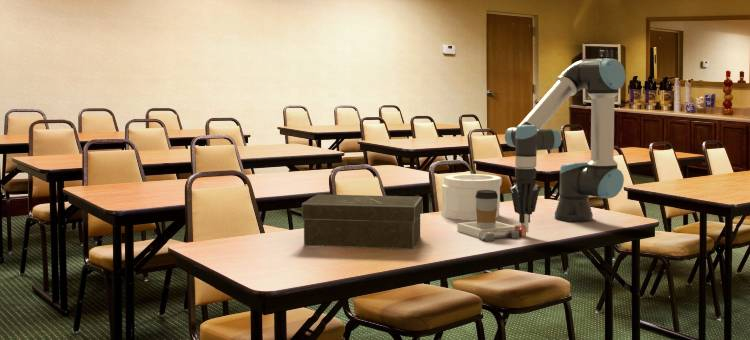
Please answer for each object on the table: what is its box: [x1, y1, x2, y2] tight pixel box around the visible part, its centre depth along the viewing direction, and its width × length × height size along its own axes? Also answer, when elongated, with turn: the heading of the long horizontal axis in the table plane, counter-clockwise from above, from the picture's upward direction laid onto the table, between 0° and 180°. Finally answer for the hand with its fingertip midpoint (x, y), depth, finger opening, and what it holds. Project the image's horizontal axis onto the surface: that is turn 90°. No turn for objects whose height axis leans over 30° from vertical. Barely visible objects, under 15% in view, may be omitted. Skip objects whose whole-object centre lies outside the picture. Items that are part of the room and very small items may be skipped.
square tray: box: [456, 220, 516, 239], centre depth 295 cm, size 15×15×3 cm
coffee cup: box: [475, 190, 498, 229], centre depth 294 cm, size 8×8×15 cm
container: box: [440, 173, 503, 221], centre depth 333 cm, size 25×24×16 cm
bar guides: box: [478, 229, 520, 242], centre depth 284 cm, size 14×5×2 cm, turn 117°
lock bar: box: [480, 224, 527, 241], centre depth 285 cm, size 18×4×4 cm, turn 117°
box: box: [301, 193, 423, 250], centre depth 280 cm, size 22×39×15 cm, turn 80°
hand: (524, 231), depth 289 cm, fingers closed
